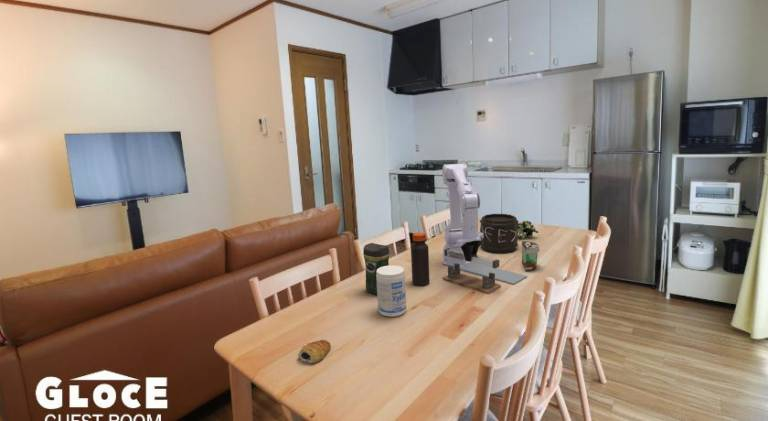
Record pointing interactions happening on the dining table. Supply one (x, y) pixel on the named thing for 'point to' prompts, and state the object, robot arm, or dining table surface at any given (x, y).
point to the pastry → (314, 351)
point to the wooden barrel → (499, 233)
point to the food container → (529, 255)
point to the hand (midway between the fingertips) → (470, 259)
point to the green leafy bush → (526, 229)
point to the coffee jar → (374, 263)
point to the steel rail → (475, 258)
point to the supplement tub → (391, 290)
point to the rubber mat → (499, 273)
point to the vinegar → (420, 260)
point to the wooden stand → (472, 280)
